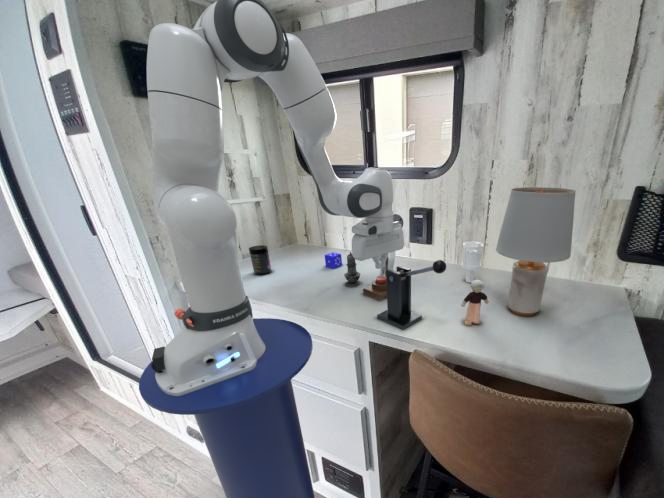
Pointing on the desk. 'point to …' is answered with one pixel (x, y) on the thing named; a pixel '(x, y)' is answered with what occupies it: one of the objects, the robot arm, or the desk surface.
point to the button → (381, 280)
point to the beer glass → (388, 263)
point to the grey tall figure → (352, 272)
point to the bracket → (399, 300)
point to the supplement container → (260, 260)
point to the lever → (426, 269)
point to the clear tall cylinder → (471, 259)
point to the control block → (376, 290)
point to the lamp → (535, 241)
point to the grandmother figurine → (474, 302)
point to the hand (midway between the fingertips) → (380, 267)
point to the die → (333, 260)
